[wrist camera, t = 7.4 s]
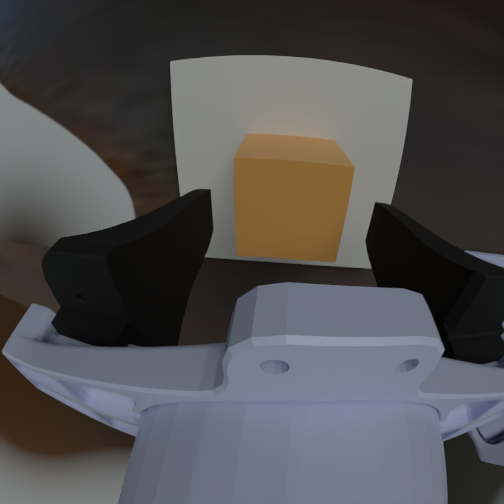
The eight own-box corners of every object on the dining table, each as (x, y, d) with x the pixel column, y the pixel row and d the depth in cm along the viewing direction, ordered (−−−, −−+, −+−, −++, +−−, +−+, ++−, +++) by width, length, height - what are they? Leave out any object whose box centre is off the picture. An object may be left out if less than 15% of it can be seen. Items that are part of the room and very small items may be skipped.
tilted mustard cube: (334, 140, 14) (354, 167, 10) (324, 214, 17) (335, 262, 13) (247, 133, 15) (233, 157, 11) (247, 208, 18) (235, 255, 14)
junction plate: (405, 78, 12) (438, 83, 8) (368, 260, 20) (381, 298, 17) (176, 61, 13) (145, 60, 10) (192, 248, 21) (176, 284, 18)
